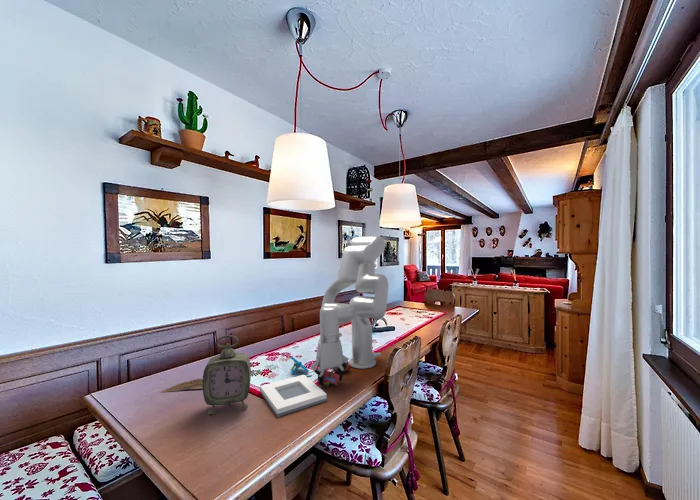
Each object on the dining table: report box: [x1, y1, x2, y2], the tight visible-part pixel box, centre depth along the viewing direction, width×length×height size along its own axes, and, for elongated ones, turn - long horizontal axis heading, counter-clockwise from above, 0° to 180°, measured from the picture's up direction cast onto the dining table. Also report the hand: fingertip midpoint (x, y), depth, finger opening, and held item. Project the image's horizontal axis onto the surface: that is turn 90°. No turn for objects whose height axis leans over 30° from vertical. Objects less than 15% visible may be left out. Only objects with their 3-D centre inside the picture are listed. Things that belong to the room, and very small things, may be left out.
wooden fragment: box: [161, 378, 203, 393], centre depth 119 cm, size 26×11×1 cm, turn 110°
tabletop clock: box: [202, 334, 252, 416], centre depth 101 cm, size 14×9×25 cm, turn 105°
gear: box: [290, 356, 310, 375], centre depth 129 cm, size 11×6×10 cm
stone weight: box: [334, 359, 350, 372], centre depth 135 cm, size 15×7×7 cm, turn 24°
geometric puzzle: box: [322, 367, 340, 389], centre depth 117 cm, size 7×7×8 cm
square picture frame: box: [259, 374, 328, 418], centre depth 108 cm, size 18×20×2 cm
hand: (330, 382), depth 117 cm, fingers open, 7 cm apart
